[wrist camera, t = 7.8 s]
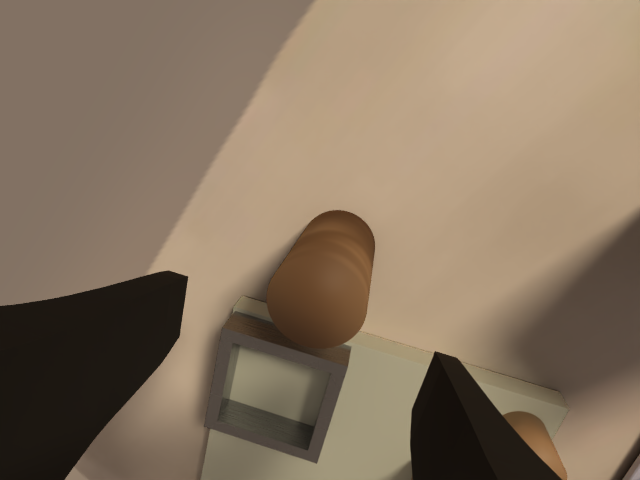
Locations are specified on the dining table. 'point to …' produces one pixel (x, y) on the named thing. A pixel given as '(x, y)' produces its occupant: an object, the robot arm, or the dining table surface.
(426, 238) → the dining table surface
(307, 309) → the loose leg
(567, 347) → the dining table surface
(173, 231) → the dining table surface
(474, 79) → the dining table surface
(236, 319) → the socket
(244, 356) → the seat board
